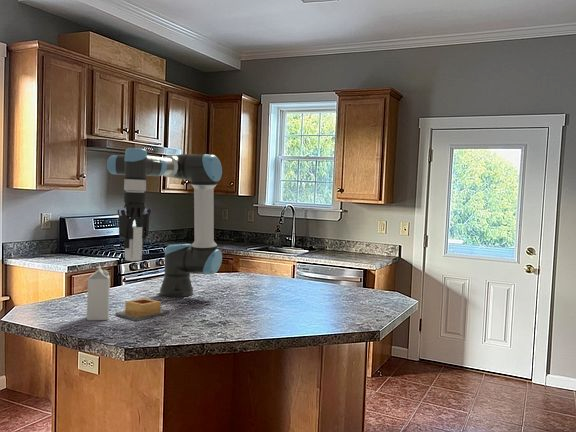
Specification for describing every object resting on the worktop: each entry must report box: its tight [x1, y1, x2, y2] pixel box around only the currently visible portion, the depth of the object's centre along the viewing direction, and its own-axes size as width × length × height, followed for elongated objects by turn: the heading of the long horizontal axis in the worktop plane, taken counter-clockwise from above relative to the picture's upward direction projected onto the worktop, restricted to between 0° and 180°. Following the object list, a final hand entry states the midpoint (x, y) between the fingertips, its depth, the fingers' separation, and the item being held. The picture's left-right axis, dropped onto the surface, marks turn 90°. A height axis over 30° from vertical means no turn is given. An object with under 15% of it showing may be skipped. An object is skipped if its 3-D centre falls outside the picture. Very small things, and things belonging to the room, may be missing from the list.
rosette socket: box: [115, 297, 170, 322], centre depth 200 cm, size 16×12×5 cm
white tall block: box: [124, 225, 143, 262], centre depth 188 cm, size 4×4×12 cm
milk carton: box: [86, 265, 111, 321], centre depth 191 cm, size 7×7×19 cm
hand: (133, 256), depth 188 cm, fingers closed on white tall block, 4 cm apart
